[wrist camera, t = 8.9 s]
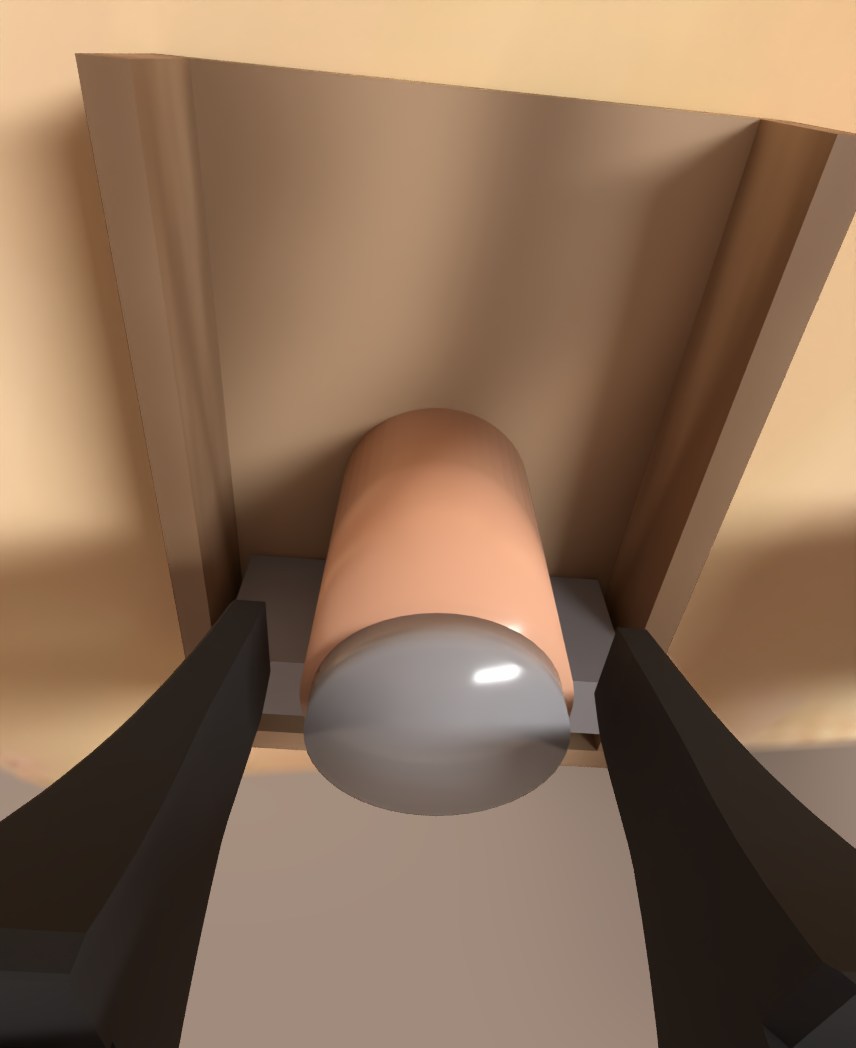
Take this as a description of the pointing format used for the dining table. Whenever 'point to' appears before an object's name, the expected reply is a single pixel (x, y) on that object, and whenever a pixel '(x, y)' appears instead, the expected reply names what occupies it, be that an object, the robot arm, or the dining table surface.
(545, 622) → the jar
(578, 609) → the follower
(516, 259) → the brown wooden tray
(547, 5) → the dining table surface
